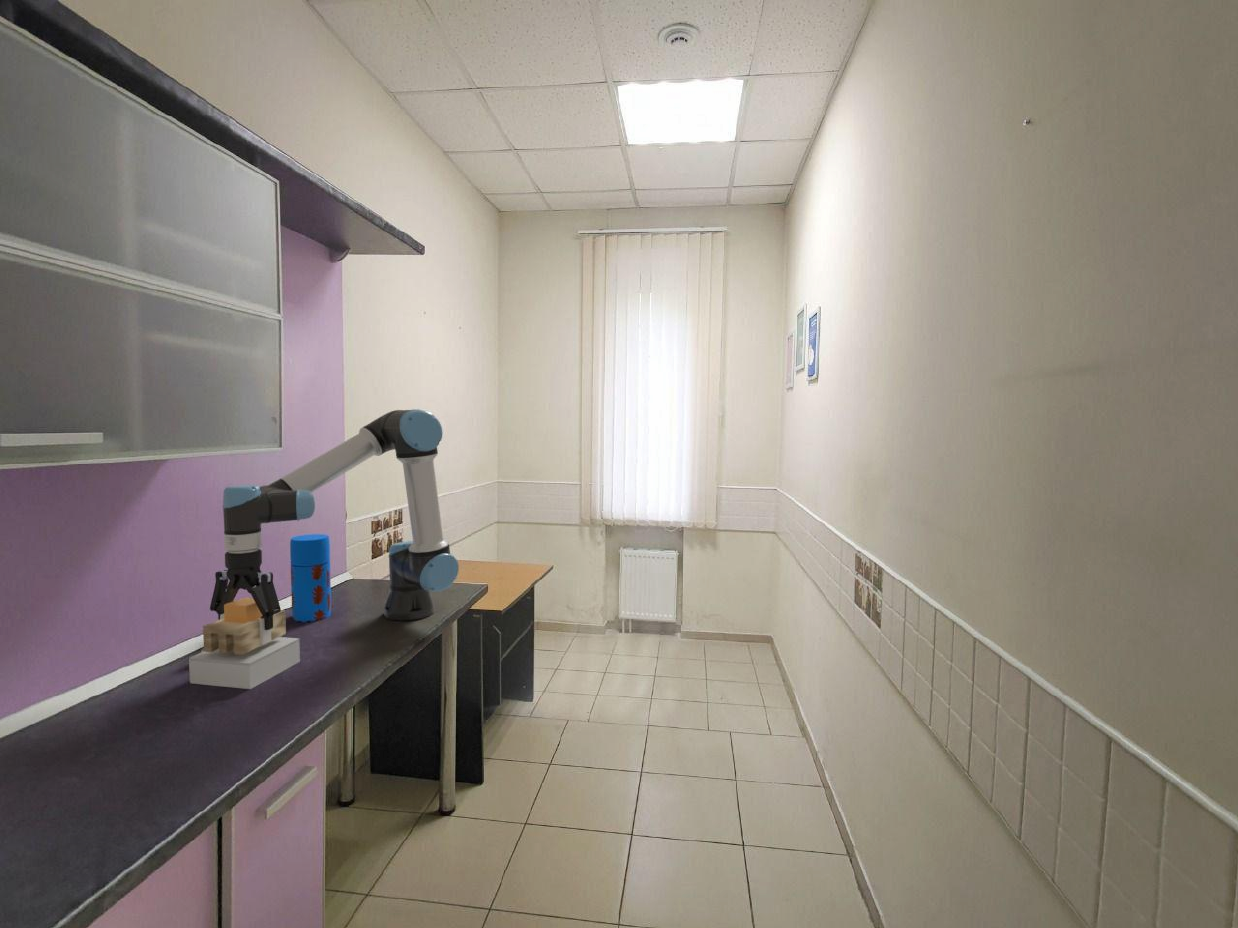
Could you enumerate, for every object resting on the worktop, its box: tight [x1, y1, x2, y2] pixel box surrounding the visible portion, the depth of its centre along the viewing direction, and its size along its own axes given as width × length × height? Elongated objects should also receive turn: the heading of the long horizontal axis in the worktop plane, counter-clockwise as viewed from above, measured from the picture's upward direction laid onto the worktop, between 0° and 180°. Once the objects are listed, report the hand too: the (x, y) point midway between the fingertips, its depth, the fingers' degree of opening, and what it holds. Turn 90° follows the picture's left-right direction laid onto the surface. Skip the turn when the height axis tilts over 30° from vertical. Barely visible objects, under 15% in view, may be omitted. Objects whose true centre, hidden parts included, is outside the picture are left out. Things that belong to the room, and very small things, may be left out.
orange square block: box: [224, 597, 262, 623], centre depth 143 cm, size 6×6×4 cm
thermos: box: [289, 533, 332, 623], centre depth 185 cm, size 11×11×25 cm
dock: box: [188, 636, 301, 690], centre depth 144 cm, size 16×16×6 cm
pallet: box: [202, 609, 287, 655], centre depth 144 cm, size 14×10×6 cm
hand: (246, 640), depth 144 cm, fingers closed on pallet, 10 cm apart
